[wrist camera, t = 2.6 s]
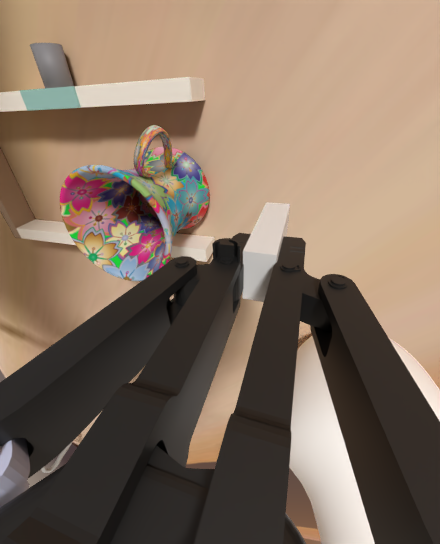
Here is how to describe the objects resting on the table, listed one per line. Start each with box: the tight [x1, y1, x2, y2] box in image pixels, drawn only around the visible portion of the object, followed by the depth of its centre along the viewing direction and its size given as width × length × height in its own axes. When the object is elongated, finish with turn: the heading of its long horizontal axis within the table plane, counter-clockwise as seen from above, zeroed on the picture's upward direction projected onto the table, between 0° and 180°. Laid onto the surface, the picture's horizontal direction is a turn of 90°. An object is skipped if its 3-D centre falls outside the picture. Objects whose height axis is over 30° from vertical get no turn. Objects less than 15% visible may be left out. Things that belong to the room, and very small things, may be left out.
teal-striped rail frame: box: [0, 43, 215, 262], centre depth 28 cm, size 22×28×3 cm
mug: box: [60, 125, 209, 281], centre depth 22 cm, size 12×9×11 cm
